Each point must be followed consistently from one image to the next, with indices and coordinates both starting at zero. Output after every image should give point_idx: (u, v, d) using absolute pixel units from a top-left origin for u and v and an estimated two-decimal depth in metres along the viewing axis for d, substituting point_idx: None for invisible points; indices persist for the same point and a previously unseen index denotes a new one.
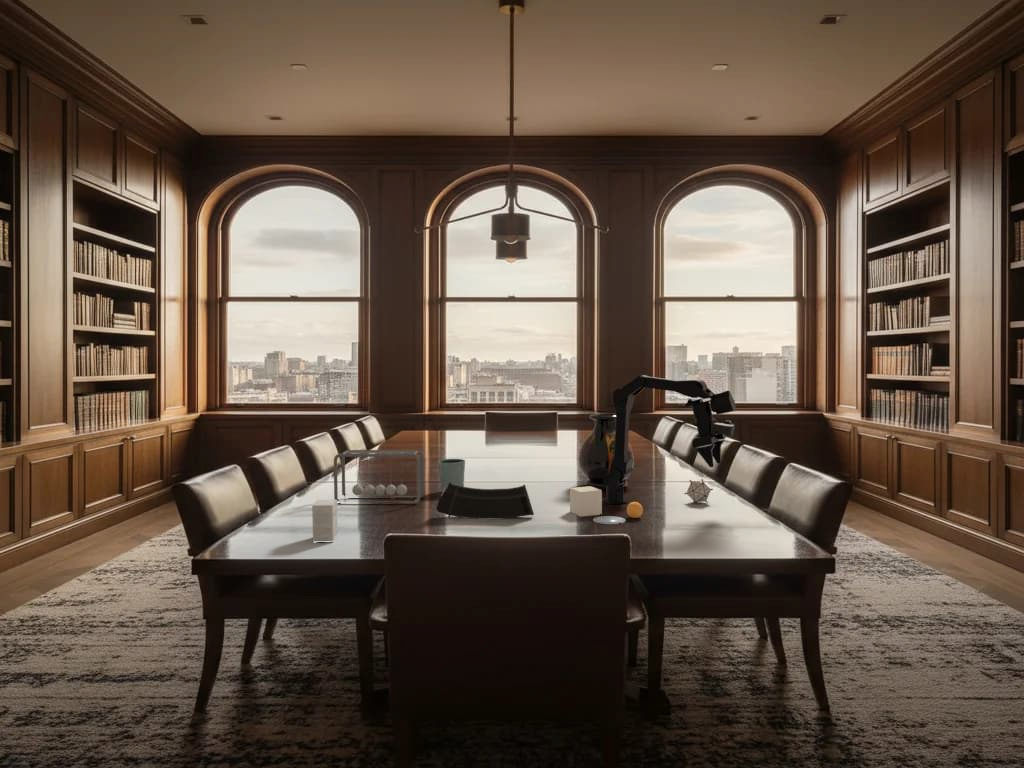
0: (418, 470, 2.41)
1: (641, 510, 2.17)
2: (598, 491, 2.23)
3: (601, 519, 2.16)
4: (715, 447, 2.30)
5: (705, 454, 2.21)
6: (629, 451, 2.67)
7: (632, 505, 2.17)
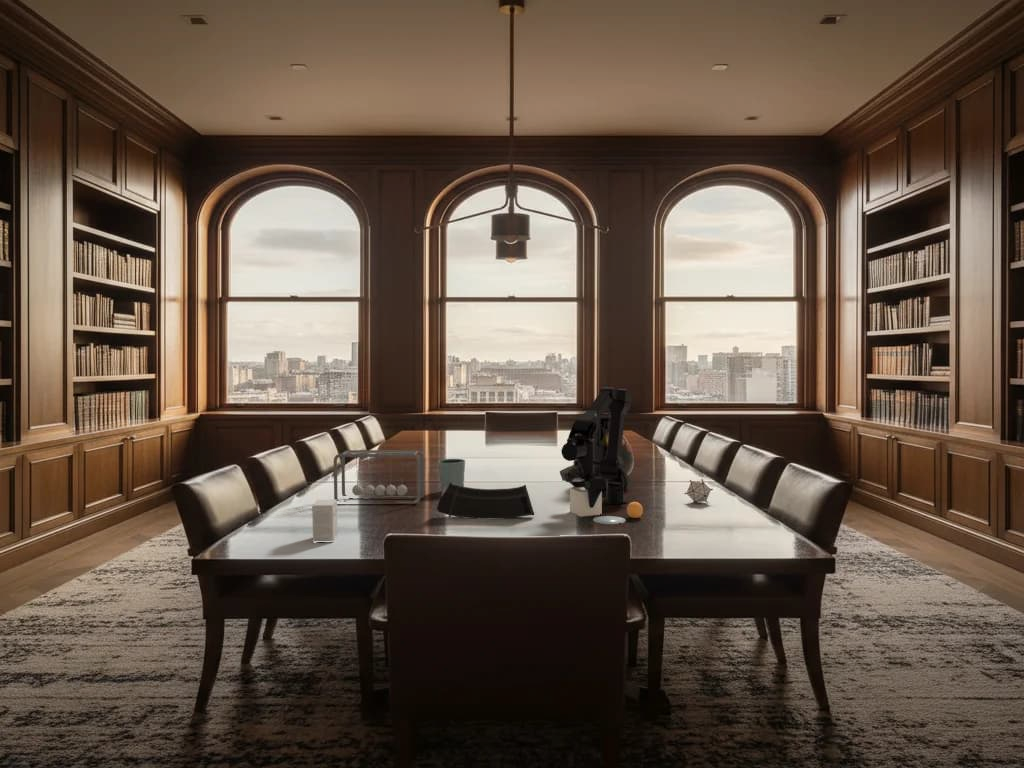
0: (418, 470, 2.40)
1: (641, 510, 2.17)
2: None
3: (601, 519, 2.16)
4: None
5: None
6: (629, 451, 2.67)
7: (632, 505, 2.17)
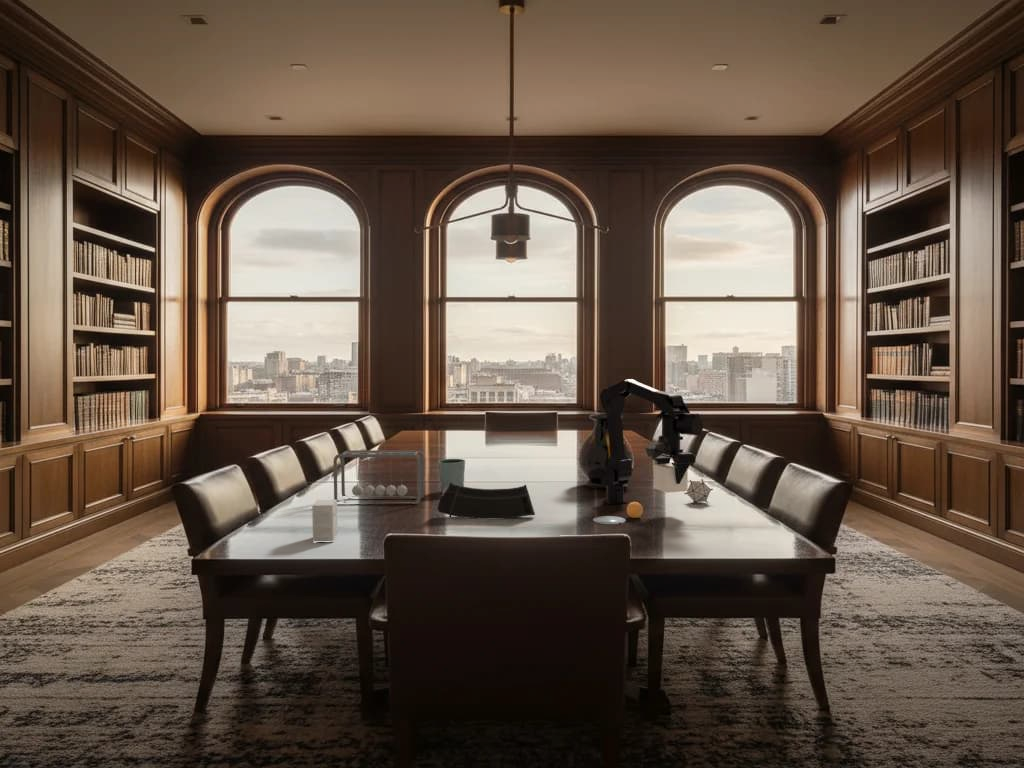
0: (418, 470, 2.40)
1: (641, 510, 2.17)
2: None
3: (601, 519, 2.16)
4: None
5: None
6: (629, 451, 2.67)
7: (632, 505, 2.17)
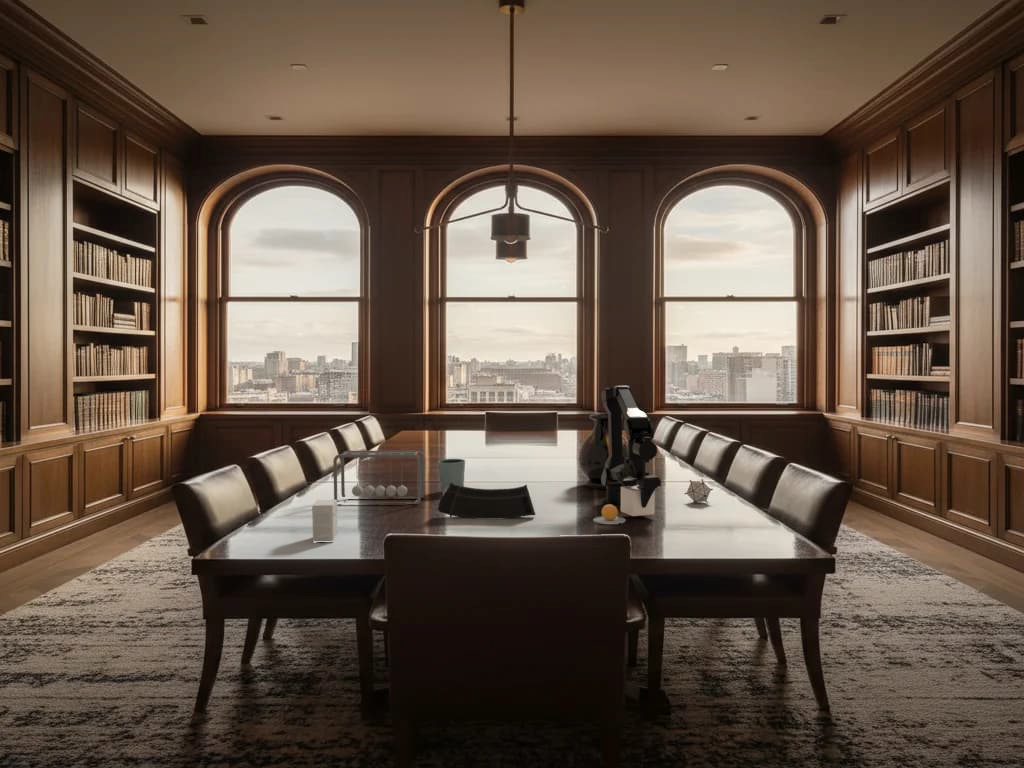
0: (419, 471, 2.39)
1: (610, 516, 2.13)
2: None
3: (601, 519, 2.16)
4: None
5: None
6: None
7: None
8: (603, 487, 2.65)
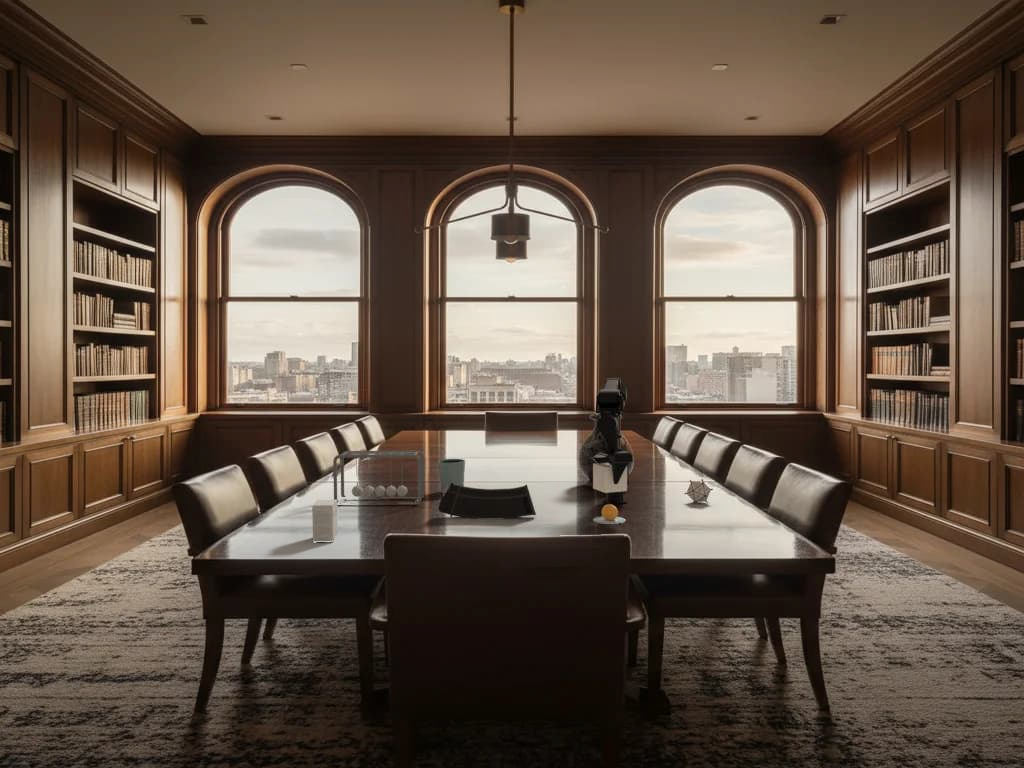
0: (419, 471, 2.39)
1: (610, 516, 2.13)
2: None
3: (601, 519, 2.16)
4: None
5: None
6: (629, 451, 2.67)
7: None
8: None
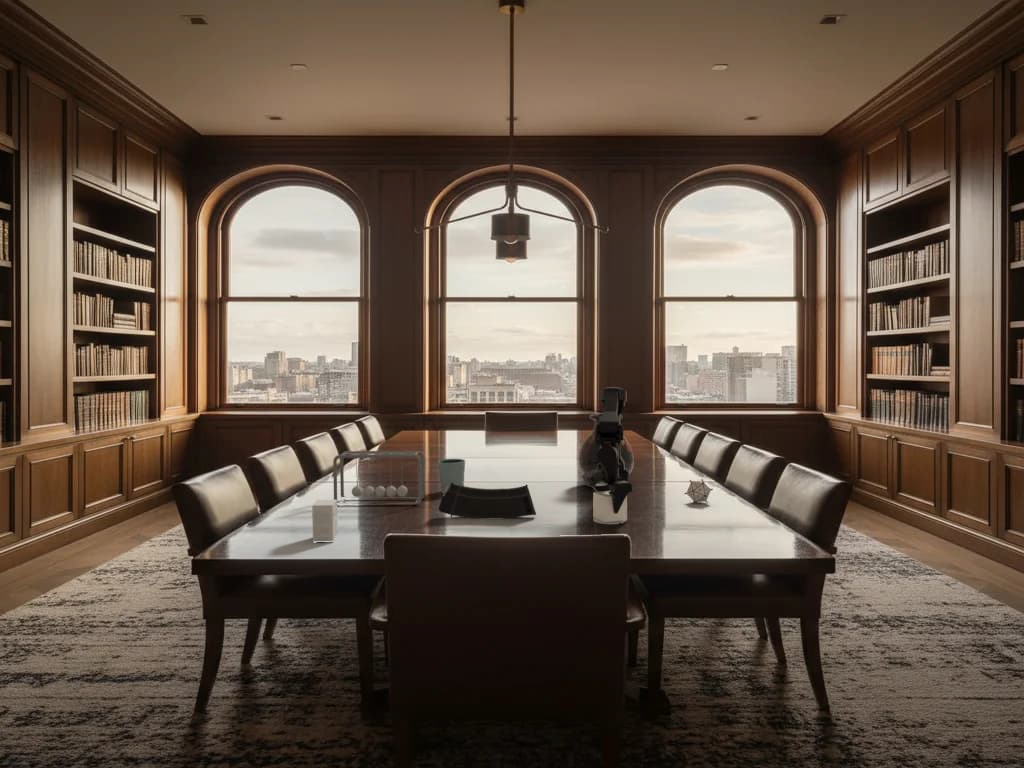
0: (419, 471, 2.39)
1: None
2: None
3: None
4: None
5: None
6: (629, 451, 2.67)
7: None
8: None
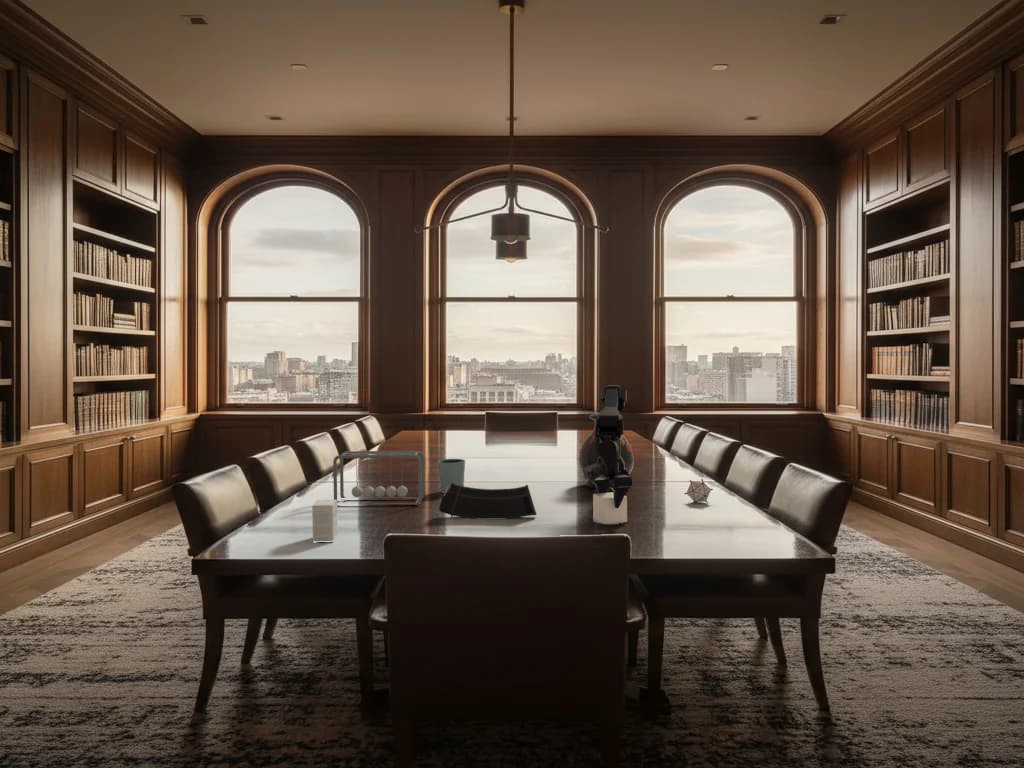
0: (420, 471, 2.39)
1: None
2: None
3: None
4: None
5: None
6: (629, 451, 2.67)
7: None
8: None
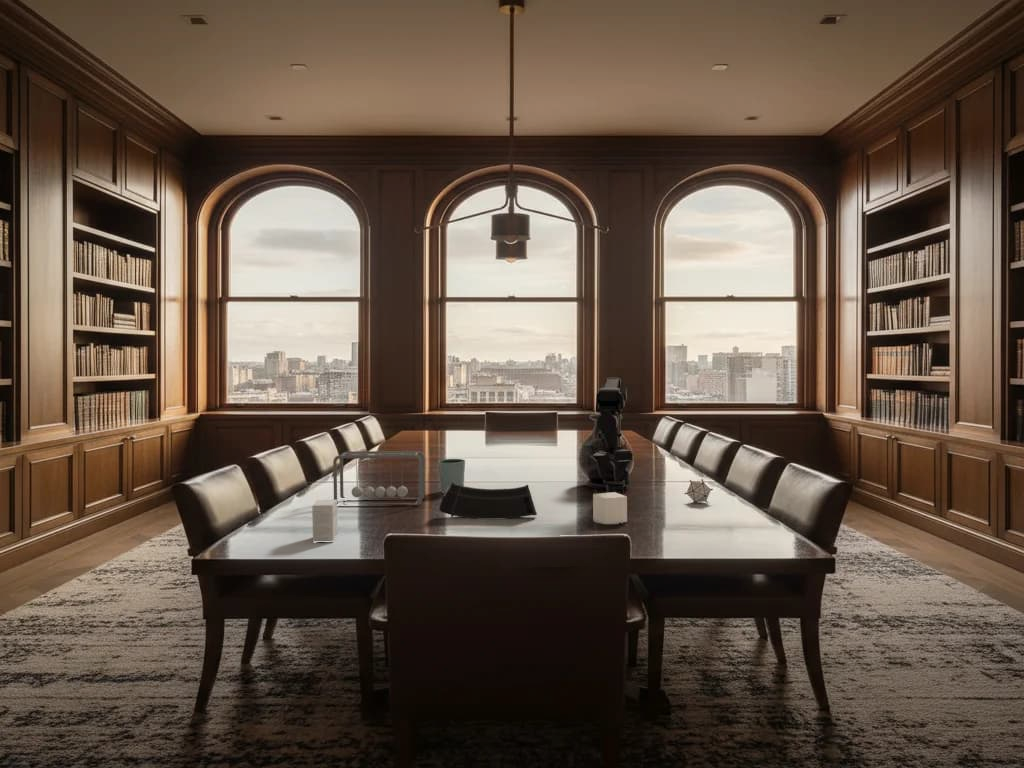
0: (420, 471, 2.38)
1: None
2: (623, 497, 2.13)
3: None
4: None
5: None
6: None
7: None
8: (603, 487, 2.65)
